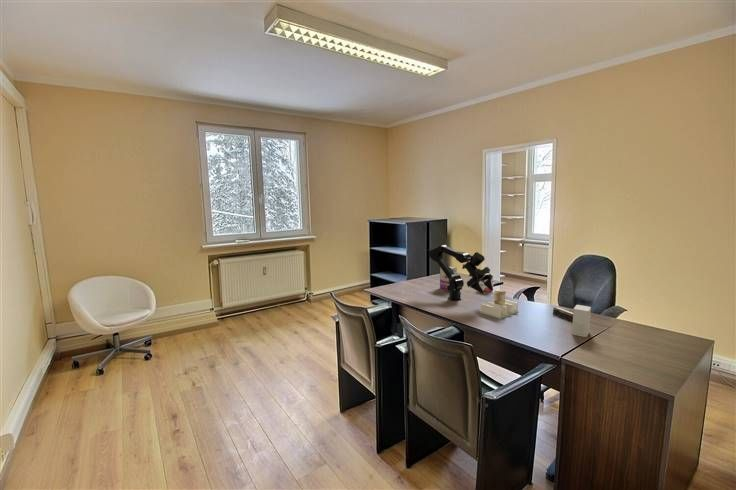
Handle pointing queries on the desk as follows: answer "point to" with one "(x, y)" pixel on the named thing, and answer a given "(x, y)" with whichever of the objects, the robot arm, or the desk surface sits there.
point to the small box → (581, 320)
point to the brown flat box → (563, 313)
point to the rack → (499, 309)
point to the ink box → (484, 285)
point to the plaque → (499, 297)
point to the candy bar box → (445, 278)
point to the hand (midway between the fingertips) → (488, 292)
